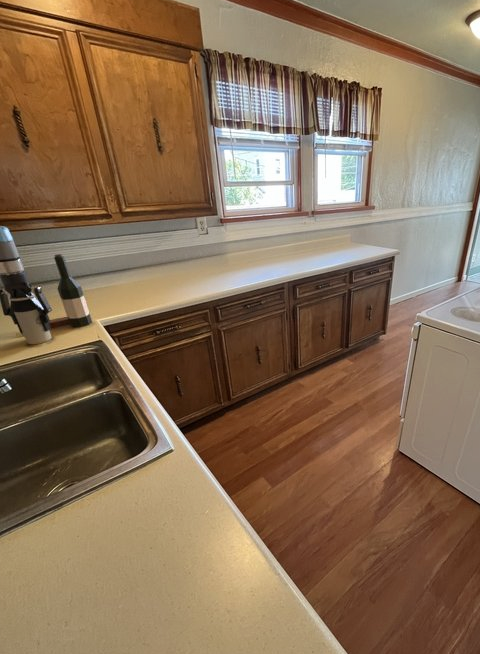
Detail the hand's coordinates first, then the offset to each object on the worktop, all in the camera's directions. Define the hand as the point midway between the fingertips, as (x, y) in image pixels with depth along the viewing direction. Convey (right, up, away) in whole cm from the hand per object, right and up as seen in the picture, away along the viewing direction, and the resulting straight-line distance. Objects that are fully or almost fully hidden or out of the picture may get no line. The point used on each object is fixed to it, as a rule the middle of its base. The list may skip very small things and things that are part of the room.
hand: (35, 330), depth 127 cm
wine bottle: (+6, +4, +17) cm, 19 cm away
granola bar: (-5, +3, +16) cm, 17 cm away
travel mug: (0, -4, +2) cm, 4 cm away
